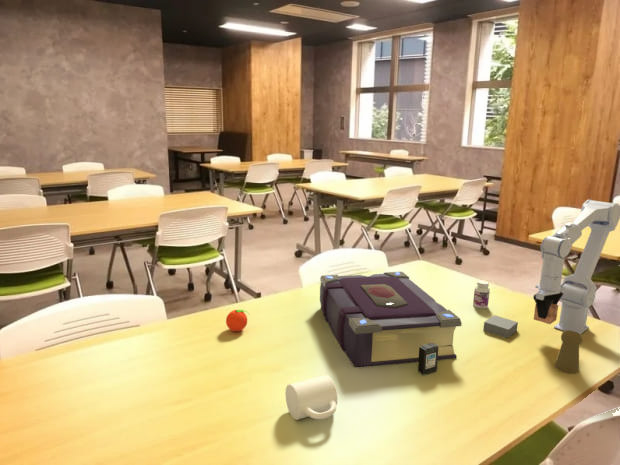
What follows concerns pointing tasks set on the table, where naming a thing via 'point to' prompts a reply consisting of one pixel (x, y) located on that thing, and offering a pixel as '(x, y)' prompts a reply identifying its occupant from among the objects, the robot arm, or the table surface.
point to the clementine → (236, 320)
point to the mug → (312, 398)
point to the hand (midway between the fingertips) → (545, 315)
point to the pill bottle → (481, 295)
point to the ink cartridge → (428, 358)
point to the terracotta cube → (550, 316)
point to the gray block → (500, 326)
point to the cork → (569, 352)
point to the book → (385, 318)
